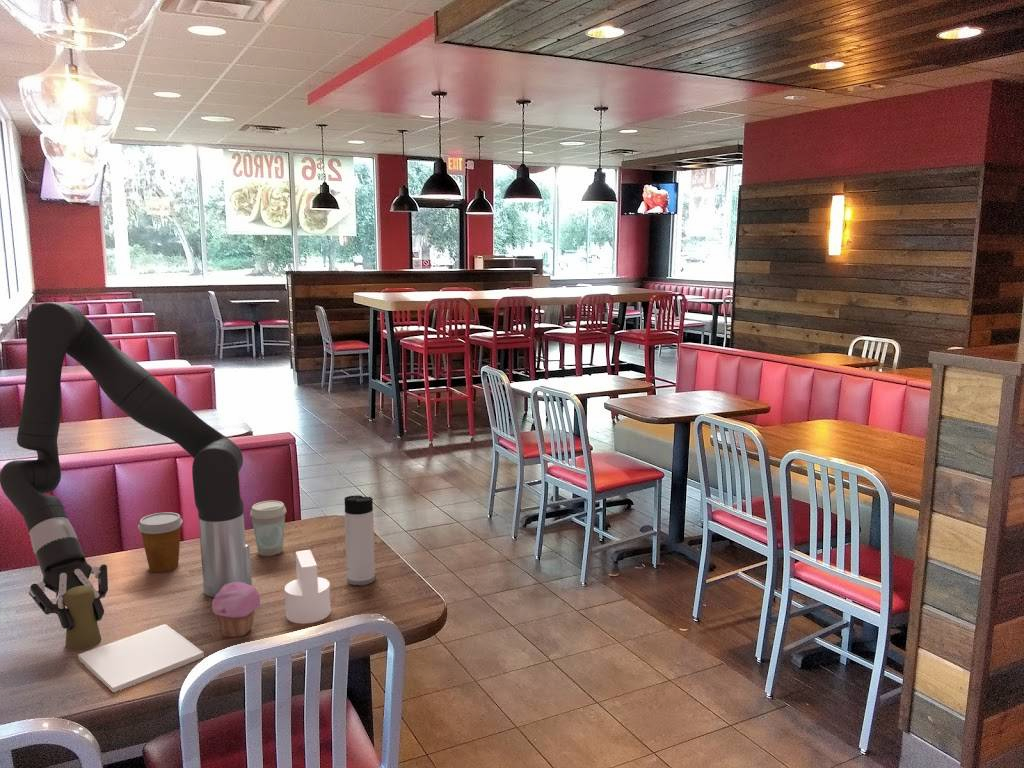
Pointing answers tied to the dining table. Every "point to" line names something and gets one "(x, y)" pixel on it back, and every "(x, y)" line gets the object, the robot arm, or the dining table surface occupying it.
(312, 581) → the cylinder with rectangular tab
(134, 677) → the white mat
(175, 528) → the disposable coffee cup
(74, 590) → the cork
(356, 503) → the travel mug
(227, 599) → the cupcake
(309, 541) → the dining table surface
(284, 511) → the coffee cup
